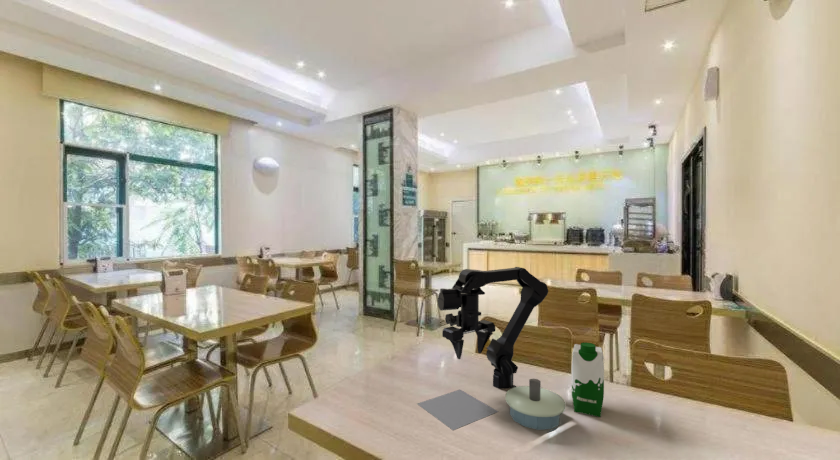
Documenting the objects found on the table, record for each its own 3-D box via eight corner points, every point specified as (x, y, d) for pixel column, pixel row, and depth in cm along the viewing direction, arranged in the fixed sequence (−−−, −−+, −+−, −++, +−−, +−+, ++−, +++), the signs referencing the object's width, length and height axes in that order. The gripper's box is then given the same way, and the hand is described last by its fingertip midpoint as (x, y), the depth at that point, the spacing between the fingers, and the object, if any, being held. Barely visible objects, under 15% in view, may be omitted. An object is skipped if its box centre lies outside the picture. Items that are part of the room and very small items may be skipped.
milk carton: (570, 412, 106) (571, 344, 106) (572, 399, 115) (572, 336, 114) (604, 419, 103) (605, 349, 102) (603, 405, 111) (603, 339, 111)
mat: (459, 392, 119) (460, 389, 119) (498, 414, 105) (498, 411, 105) (416, 406, 110) (416, 403, 110) (452, 433, 96) (452, 430, 96)
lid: (530, 384, 114) (530, 365, 114) (577, 405, 100) (577, 384, 100) (493, 398, 105) (493, 377, 105) (540, 423, 91) (540, 400, 91)
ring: (530, 403, 112) (530, 387, 112) (568, 423, 101) (569, 405, 101) (501, 416, 104) (501, 399, 104) (538, 438, 94) (539, 419, 94)
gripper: (473, 300, 131) (473, 343, 131) (431, 307, 120) (431, 354, 120) (496, 306, 122) (496, 352, 122) (454, 314, 111) (453, 365, 111)
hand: (469, 355), depth 119 cm, fingers open, 9 cm apart
